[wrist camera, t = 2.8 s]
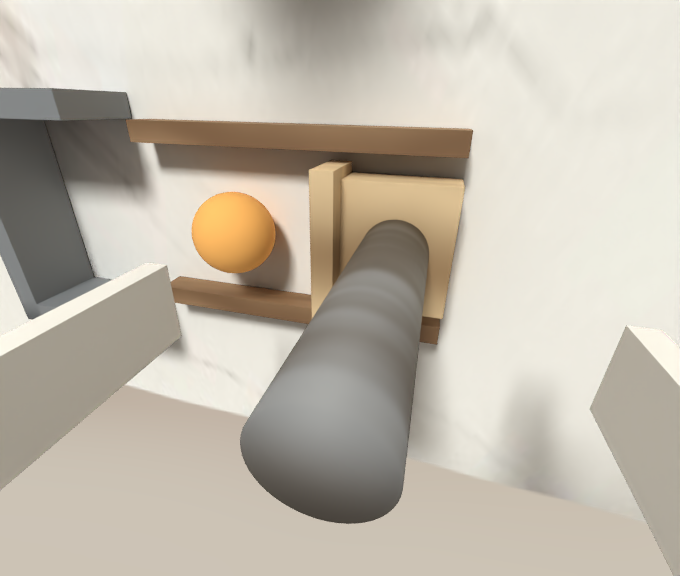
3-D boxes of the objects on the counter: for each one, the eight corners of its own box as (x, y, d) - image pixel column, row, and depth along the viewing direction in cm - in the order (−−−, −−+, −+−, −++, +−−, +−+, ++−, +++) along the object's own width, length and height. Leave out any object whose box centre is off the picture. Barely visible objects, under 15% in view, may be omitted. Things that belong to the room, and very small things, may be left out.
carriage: (331, 160, 17) (98, 262, 6) (464, 167, 15) (517, 320, 4) (330, 292, 20) (181, 529, 9) (441, 307, 19) (435, 610, 7)
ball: (215, 182, 19) (165, 198, 16) (285, 187, 18) (248, 205, 15) (225, 252, 21) (181, 281, 17) (289, 260, 20) (256, 291, 17)
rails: (147, 118, 19) (125, 119, 17) (470, 128, 15) (473, 130, 14) (182, 290, 23) (166, 301, 22) (437, 328, 20) (436, 344, 18)
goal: (17, 91, 20) (-74, 87, 16) (125, 92, 18) (51, 88, 15) (85, 290, 25) (28, 318, 22) (172, 304, 24) (126, 337, 20)
